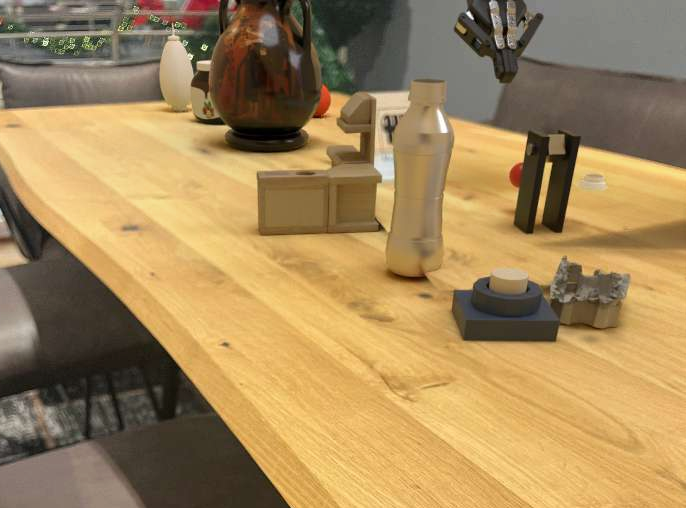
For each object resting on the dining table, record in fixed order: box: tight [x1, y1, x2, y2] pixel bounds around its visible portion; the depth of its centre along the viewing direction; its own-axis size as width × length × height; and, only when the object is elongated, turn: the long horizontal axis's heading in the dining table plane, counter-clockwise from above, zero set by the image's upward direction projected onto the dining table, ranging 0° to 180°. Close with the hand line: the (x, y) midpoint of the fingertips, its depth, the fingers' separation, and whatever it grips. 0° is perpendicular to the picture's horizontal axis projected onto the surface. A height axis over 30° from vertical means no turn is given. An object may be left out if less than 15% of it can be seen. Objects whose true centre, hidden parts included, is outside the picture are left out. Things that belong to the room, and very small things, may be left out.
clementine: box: [312, 83, 332, 118], centre depth 176 cm, size 8×7×7 cm
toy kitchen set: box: [256, 91, 383, 236], centre depth 105 cm, size 18×17×15 cm
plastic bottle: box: [384, 78, 456, 278], centre depth 83 cm, size 6×7×20 cm
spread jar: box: [190, 59, 226, 125], centre depth 168 cm, size 12×11×12 cm
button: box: [489, 267, 530, 295], centre depth 74 cm, size 4×4×2 cm
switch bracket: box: [513, 129, 582, 235], centre depth 98 cm, size 7×7×13 cm
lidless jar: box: [576, 173, 608, 192], centre depth 119 cm, size 5×3×5 cm
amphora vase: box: [208, 0, 323, 152], centre depth 142 cm, size 22×22×28 cm
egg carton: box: [549, 255, 631, 329], centre depth 79 cm, size 11×8×4 cm
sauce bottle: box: [158, 22, 195, 113], centre depth 177 cm, size 8×8×18 cm
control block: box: [451, 275, 561, 343], centre depth 76 cm, size 9×8×4 cm
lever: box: [508, 133, 565, 189], centre depth 100 cm, size 12×3×3 cm
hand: (508, 79), depth 105 cm, fingers closed
